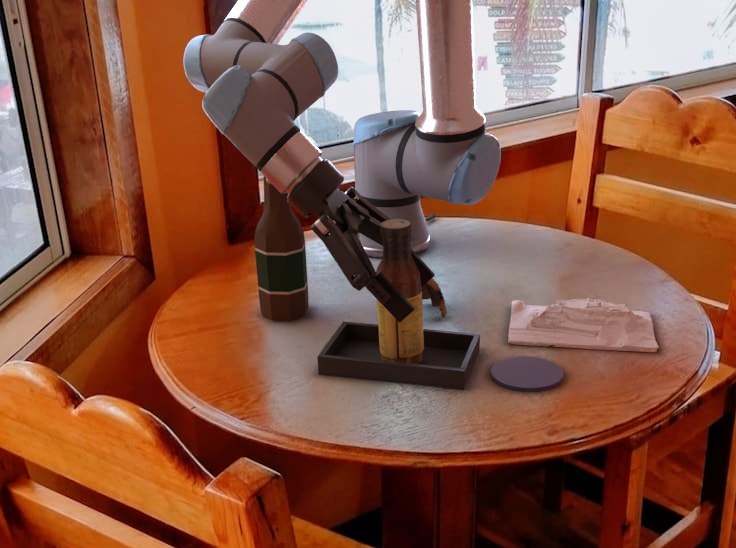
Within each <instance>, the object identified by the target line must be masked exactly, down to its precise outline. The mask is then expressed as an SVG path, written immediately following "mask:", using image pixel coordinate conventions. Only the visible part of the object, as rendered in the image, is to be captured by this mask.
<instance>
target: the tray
mask: <svg viewBox="0 0 736 548" xmlns="http://www.w3.org/2000/svg"><path fill="white" fill-rule="evenodd" d="M423 337H424V350H423V360H422V362H421V363H420V364H410V363H400V362H390V361H382V357H381V353H380V343H379V325H378V323H377V324H376V323H367V322H355V321H345V320H343V321H342V322H341V323H340V325H339V326H338V328H337V329H336V330H335V332H333V334H332V336H331V337H330V338H329V340H328V341H327V343H326V344H325V345H324V346H323V348H322V350H321V351H320V352H319V354H318V355H317V359H316V360H317V375H319V376H328V377H337V378H338V377H339V378H347V379H357V380H366V381H376V382H384V383H385V382H386V383H387V382H388V383H395V384H405V385H414V386H425V387H433V388H434V387H435V388H443V389H453V390H460V391H461V390H462V391H464V390H465V388H466V386H467V383H468V381H469V378H470V376H471V373H472V372H473V368H474V367H475V364H476V361H477V359H478V356H479V354H480V352H481V351H480V348H481V333H472V332H461V331H452V330H440V329H431V328H430V329H429V328H423Z"/></svg>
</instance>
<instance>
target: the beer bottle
mask: <svg viewBox="0 0 736 548" xmlns="http://www.w3.org/2000/svg"><path fill="white" fill-rule="evenodd" d="M266 179H267V178H266V177H265V176H264V175H263V210H262V211H263V212H262V215H261V217H260V219H259V220H258V223H257V224H256V228H255V232H254V254H255V267H256V278H257V289H258V299H259V300H258V301H259V307H260V314H261V316H262V317H264V318H266V319H267V320H270V321H272V322H293V321H296V320H299V319H302V318H305V317H306V315H307V312H308V310H309V283H308V268H307V251H306V239H305V231H304V228H303V225H302V223H301V221H300V219H299V218H298V216H297V215H296V214H295V213H294V212H293V209H292V205H291V204H290V203H289V202H288V199H287V197H288V196H289V195H288V194H287V193H284V194H281V193H280V192H279V191H278V190H277V189H276V188H275V187H274V186H273V185H272V184H268V183H267V181H266Z"/></svg>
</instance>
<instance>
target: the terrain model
mask: <svg viewBox="0 0 736 548" xmlns="http://www.w3.org/2000/svg"><path fill="white" fill-rule="evenodd" d="M510 308H511V311H510V313H511V314H510V319H509V323H508V324H509V325H508V326H509V327H508V333H507V334H508V335H507V337H508V341H507V343H508V344H511V345H518V346H520V345H521V346H532V347H537V346H538V347H551V348H570V349H571V348H572V349H586V350H604V351H605V350H606V351H619V352H620V351H621V352H642V353H647V352H648V353H657V351H658V349H659V348H661V347H660V346H659V344H658V342H657V340H656V336H655V331H654V328H655V327H654V323H653V320H654V319H653V318H652V317H651V313H650V312H649V311H641V310H632V309H631V308H629V307H627V305H626V304H625V303H613V302H612V301H606V300H602V299H601V298H598V299H594V298H590V297H589V298H572V299H568V300H566V299H555V303H553V304H552V303H551V305H550V304H547V305H530V304H527V303H526V302H525V301H522V300H519V299H517V300H516V299H515V300H512V302H511V305H510Z"/></svg>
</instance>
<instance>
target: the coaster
mask: <svg viewBox="0 0 736 548" xmlns="http://www.w3.org/2000/svg"><path fill="white" fill-rule="evenodd" d="M490 377H491V379H492V380H493V381H494V383H496V384H497V385H499V386H501V387H503V388H505V389H508V390H512V391H517V392H525V393H526V392H528V393H534V392H542V391H543V392H544V391H548V390H551V389H553V388H556V387H557V386H558V385H560V384H561V383H562V382H563V379H564V371H563V369H562V368H561V366H559V365H558V364H556V363H555V362H553V361H551V360H548V359H546V358H542V357H536V356H527V355H526V356H525V355H524V356H523V355H522V356H520V355H519V356H511V357H506V358H503V359H500V360H498V361H497V362H495V363H494V364H493V365H492V366H491V369H490Z"/></svg>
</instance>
